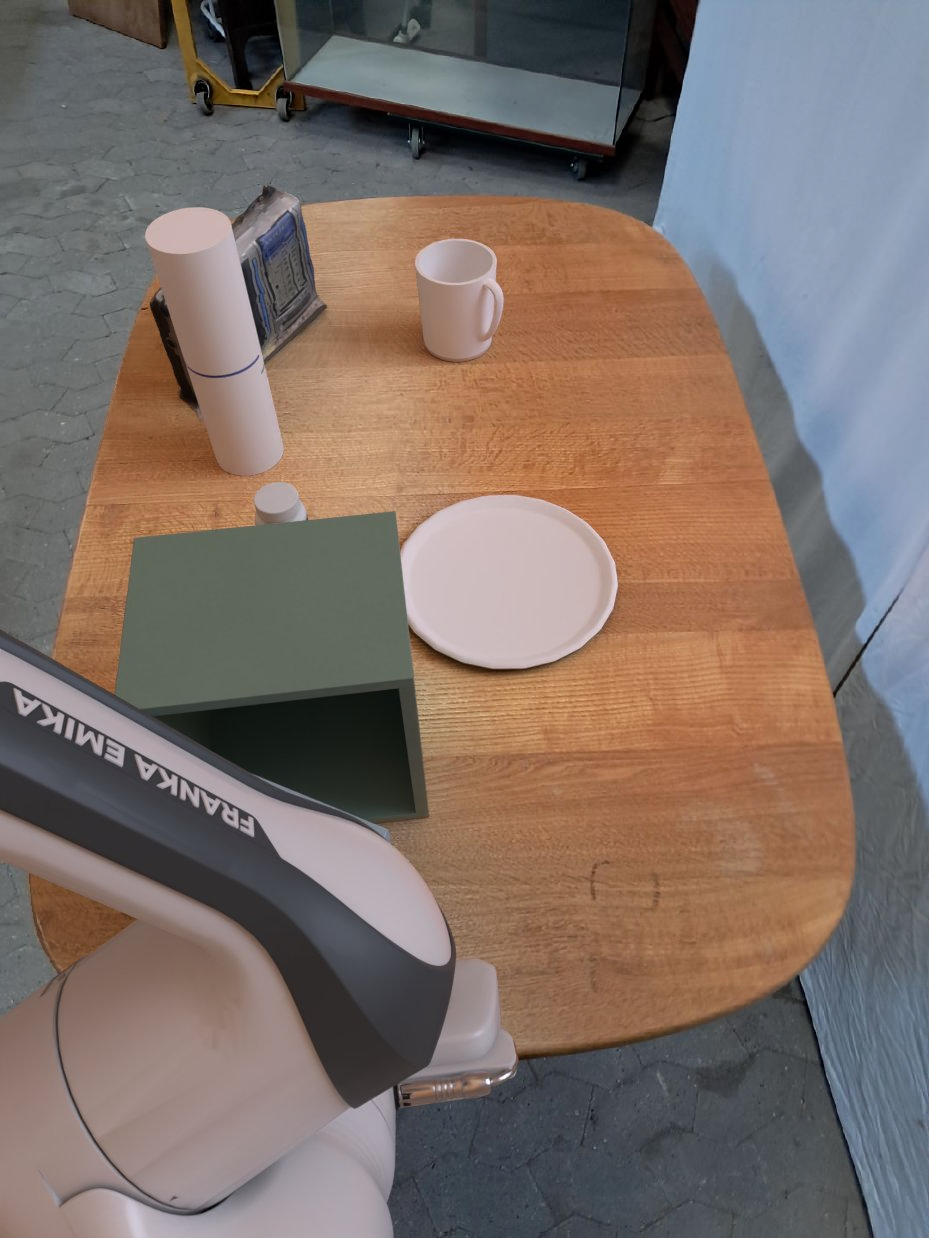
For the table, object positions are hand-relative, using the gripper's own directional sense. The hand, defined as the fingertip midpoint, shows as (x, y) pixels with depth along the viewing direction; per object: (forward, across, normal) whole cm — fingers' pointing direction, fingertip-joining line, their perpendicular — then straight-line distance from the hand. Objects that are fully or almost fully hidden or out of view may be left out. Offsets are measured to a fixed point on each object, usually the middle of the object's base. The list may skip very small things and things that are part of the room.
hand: (325, 961), depth 55 cm
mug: (+57, -17, -44) cm, 74 cm away
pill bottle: (+36, +4, -22) cm, 42 cm away
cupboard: (+21, +2, -8) cm, 22 cm away
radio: (+58, +8, -45) cm, 74 cm away
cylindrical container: (+47, +8, -34) cm, 58 cm away
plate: (+32, -16, -18) cm, 40 cm away
